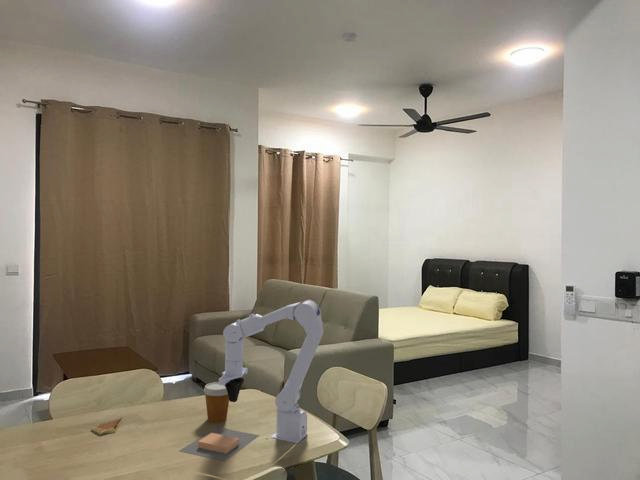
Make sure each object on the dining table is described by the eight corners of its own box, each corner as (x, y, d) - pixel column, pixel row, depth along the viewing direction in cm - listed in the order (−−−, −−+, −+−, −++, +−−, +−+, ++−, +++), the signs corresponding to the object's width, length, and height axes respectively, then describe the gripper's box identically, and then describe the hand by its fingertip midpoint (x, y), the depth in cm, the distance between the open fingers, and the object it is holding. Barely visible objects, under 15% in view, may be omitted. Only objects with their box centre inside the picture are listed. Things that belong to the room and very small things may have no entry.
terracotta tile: (239, 438, 152) (226, 447, 145) (239, 445, 152) (226, 454, 145) (211, 432, 156) (198, 441, 149) (211, 439, 156) (197, 448, 149)
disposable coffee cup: (228, 425, 168) (228, 390, 168) (199, 425, 168) (200, 389, 168) (233, 415, 177) (234, 382, 177) (206, 414, 177) (207, 381, 177)
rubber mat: (259, 436, 160) (259, 435, 159) (224, 462, 141) (224, 461, 141) (217, 428, 166) (217, 427, 166) (178, 452, 147) (178, 450, 147)
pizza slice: (122, 421, 171) (122, 416, 171) (134, 427, 166) (134, 422, 166) (91, 431, 162) (91, 425, 162) (102, 437, 157) (102, 432, 157)
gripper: (235, 353, 171) (234, 393, 171) (210, 363, 158) (210, 406, 158) (253, 356, 169) (252, 396, 169) (229, 366, 155) (229, 409, 155)
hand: (233, 401), depth 163 cm, fingers closed
